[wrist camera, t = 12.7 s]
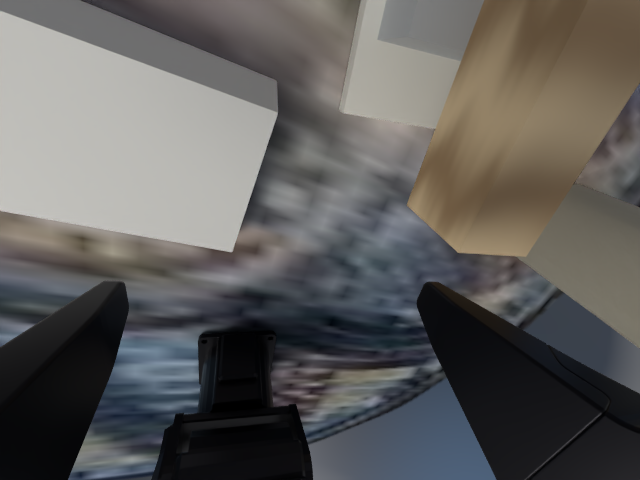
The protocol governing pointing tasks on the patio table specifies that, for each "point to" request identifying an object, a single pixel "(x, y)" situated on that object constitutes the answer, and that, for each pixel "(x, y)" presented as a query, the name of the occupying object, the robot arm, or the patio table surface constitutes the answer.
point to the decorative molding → (126, 126)
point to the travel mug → (594, 257)
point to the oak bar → (525, 118)
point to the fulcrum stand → (406, 58)
